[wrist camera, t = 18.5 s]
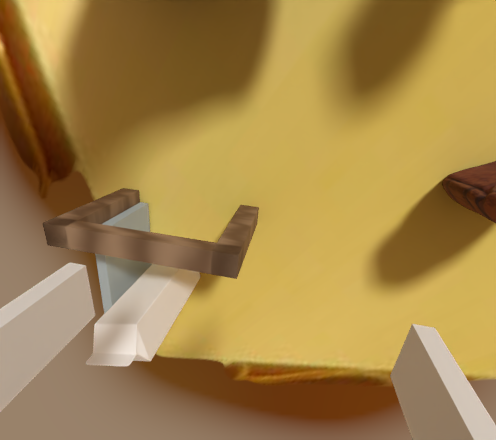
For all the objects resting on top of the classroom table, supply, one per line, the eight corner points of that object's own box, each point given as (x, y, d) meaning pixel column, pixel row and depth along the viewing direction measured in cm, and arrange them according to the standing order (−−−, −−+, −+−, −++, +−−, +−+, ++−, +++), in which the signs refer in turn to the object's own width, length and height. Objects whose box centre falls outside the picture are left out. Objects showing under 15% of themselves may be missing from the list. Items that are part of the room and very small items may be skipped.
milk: (164, 251, 50) (72, 343, 30) (194, 249, 49) (119, 344, 29) (172, 278, 52) (92, 382, 32) (201, 277, 51) (136, 385, 31)
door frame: (124, 204, 48) (47, 245, 33) (122, 188, 47) (42, 223, 32) (256, 224, 45) (236, 278, 30) (258, 207, 43) (238, 255, 29)
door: (131, 200, 47) (80, 227, 36) (148, 203, 46) (101, 231, 35) (137, 277, 53) (95, 319, 42) (152, 279, 53) (114, 323, 42)
